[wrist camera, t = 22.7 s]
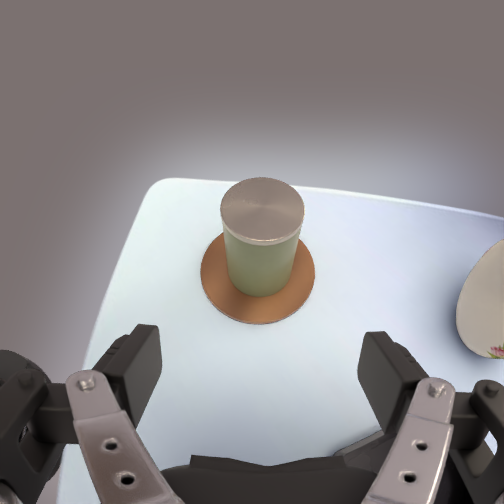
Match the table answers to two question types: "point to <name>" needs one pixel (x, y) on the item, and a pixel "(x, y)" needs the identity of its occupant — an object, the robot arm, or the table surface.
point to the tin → (261, 234)
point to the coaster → (250, 306)
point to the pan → (376, 450)
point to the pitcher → (484, 305)
